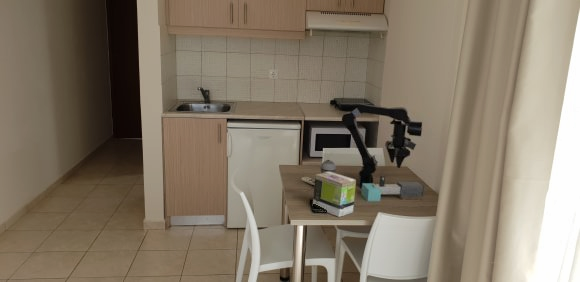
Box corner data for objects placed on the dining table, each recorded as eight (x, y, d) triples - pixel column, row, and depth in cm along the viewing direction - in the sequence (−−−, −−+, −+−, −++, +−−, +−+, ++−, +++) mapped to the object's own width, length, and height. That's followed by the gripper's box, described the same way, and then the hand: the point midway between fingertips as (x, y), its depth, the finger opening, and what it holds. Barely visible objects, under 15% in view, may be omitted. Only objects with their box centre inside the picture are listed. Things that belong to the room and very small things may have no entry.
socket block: (367, 201, 207) (368, 189, 206) (361, 194, 215) (362, 183, 214) (380, 201, 208) (381, 189, 207) (373, 194, 217) (374, 183, 215)
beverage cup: (324, 188, 221) (327, 148, 216) (336, 192, 216) (340, 151, 212) (315, 191, 215) (318, 150, 211) (328, 195, 211) (331, 154, 206)
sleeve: (400, 199, 212) (402, 185, 210) (395, 195, 217) (397, 181, 215) (422, 199, 214) (424, 185, 212) (417, 195, 219) (419, 182, 217)
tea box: (353, 212, 192) (357, 179, 189) (338, 217, 185) (341, 183, 182) (327, 202, 203) (329, 170, 199) (311, 206, 196) (314, 173, 193)
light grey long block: (373, 194, 210) (375, 177, 208) (371, 191, 213) (372, 175, 211) (408, 194, 213) (410, 177, 211) (404, 191, 216) (407, 175, 214)
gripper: (422, 138, 209) (418, 171, 213) (408, 130, 228) (404, 160, 231) (399, 138, 208) (395, 170, 212) (386, 129, 226) (383, 159, 230)
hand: (395, 165), depth 221 cm, fingers open, 9 cm apart
